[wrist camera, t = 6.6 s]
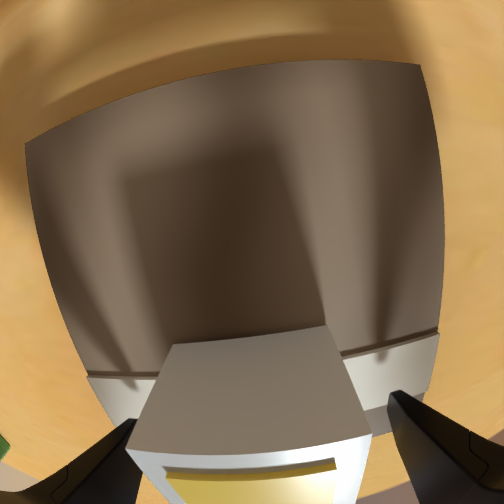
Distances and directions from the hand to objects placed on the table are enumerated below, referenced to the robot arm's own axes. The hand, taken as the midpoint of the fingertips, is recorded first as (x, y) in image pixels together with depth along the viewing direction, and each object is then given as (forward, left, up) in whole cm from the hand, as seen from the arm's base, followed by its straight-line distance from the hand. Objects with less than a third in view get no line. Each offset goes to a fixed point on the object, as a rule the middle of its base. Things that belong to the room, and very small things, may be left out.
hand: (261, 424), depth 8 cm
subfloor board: (0, -3, -2) cm, 4 cm away
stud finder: (0, 0, -1) cm, 1 cm away
